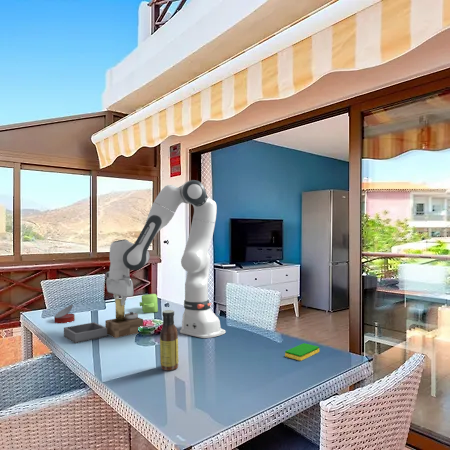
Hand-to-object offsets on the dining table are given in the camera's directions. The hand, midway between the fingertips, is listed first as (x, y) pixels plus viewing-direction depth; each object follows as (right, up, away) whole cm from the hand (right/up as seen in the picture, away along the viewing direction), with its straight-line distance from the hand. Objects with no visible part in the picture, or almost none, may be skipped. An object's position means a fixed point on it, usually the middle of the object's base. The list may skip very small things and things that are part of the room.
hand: (120, 304), depth 168 cm
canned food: (-36, -14, +24) cm, 46 cm away
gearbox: (+3, -15, +47) cm, 50 cm away
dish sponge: (+79, -14, -28) cm, 85 cm away
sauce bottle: (+29, -13, -42) cm, 53 cm away
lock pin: (0, -8, 0) cm, 8 cm away
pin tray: (-14, -14, -5) cm, 20 cm away
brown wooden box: (+2, -14, +1) cm, 14 cm away
